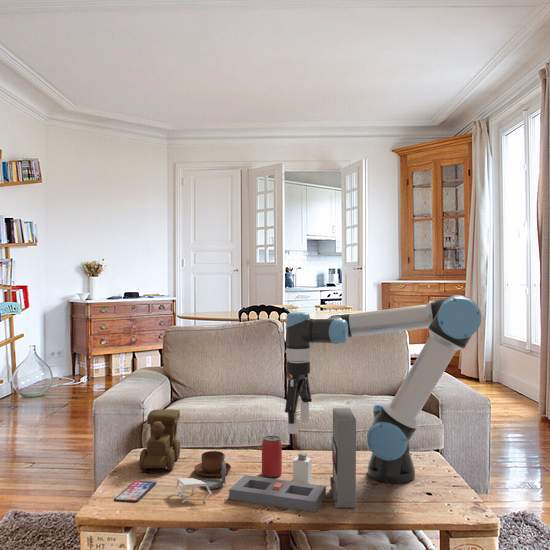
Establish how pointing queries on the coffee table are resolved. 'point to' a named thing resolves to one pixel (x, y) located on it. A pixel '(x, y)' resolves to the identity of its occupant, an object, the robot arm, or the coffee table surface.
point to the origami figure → (190, 483)
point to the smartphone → (135, 491)
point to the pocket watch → (216, 482)
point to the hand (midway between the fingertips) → (299, 427)
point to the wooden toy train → (161, 440)
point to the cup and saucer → (211, 464)
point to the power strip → (278, 493)
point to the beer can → (271, 456)
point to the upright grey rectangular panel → (344, 458)
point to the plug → (302, 468)
